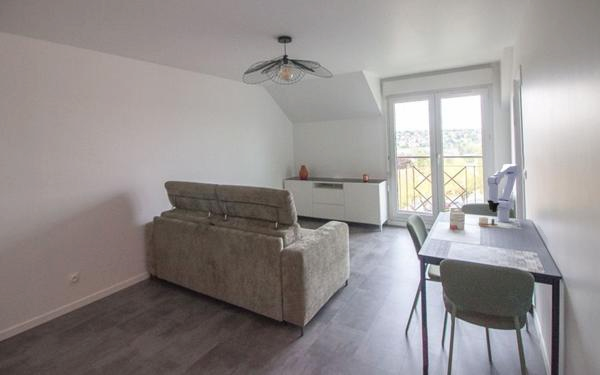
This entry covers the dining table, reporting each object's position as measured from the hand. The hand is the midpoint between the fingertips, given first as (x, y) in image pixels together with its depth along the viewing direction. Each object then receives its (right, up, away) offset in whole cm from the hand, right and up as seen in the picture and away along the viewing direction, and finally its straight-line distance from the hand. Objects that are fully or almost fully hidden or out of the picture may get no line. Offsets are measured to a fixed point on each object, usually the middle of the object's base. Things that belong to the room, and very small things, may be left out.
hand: (492, 210), depth 240 cm
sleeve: (-8, -10, -2) cm, 13 cm away
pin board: (-5, -11, -3) cm, 12 cm away
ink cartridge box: (-30, -12, -7) cm, 33 cm away
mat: (+6, -10, -3) cm, 12 cm away
